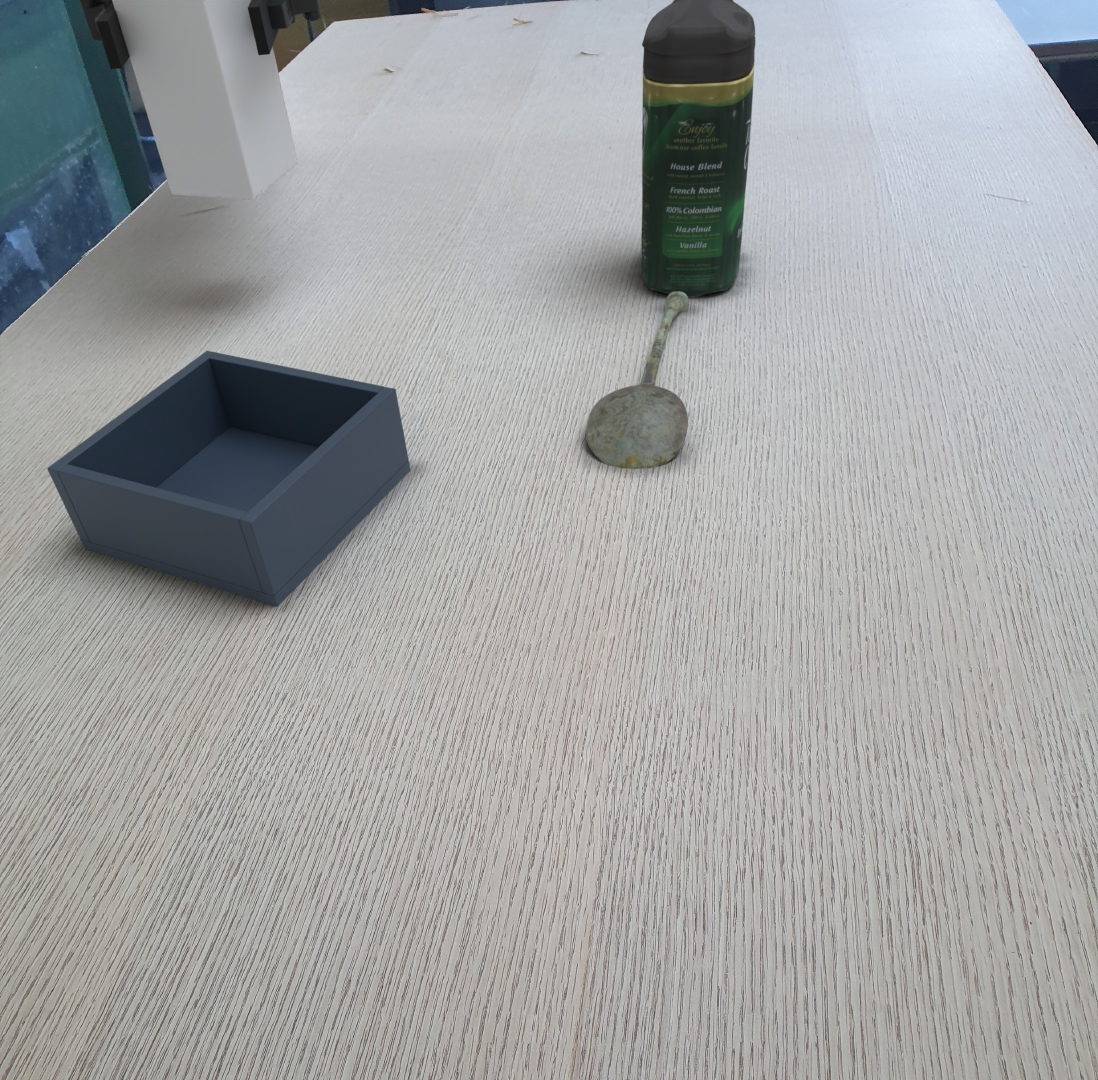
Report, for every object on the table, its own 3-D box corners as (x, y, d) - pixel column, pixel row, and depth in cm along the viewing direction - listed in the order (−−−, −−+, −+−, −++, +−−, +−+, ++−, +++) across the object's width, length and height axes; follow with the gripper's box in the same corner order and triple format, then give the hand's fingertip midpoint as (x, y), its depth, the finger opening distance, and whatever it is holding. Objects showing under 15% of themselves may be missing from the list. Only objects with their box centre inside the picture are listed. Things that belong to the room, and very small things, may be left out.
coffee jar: (739, 302, 82) (759, 21, 69) (637, 302, 84) (636, 25, 70) (741, 249, 89) (759, -18, 75) (646, 249, 90) (647, -13, 77)
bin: (86, 552, 66) (46, 468, 61) (232, 431, 74) (206, 350, 70) (278, 610, 60) (250, 522, 56) (411, 473, 69) (396, 388, 65)
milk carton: (254, 202, 78) (170, -129, 64) (171, 196, 80) (72, -126, 66) (299, 166, 82) (230, -150, 69) (220, 161, 84) (136, -147, 70)
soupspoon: (575, 476, 69) (676, 489, 68) (575, 431, 66) (680, 443, 65) (636, 307, 83) (721, 315, 81) (638, 264, 80) (726, 272, 79)
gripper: (373, 2, 89) (360, 86, 73) (109, 27, 88) (41, 116, 73) (355, -112, 83) (337, -47, 68) (74, -85, 83) (-7, -15, 68)
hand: (184, 38), depth 70 cm, fingers closed on milk carton, 9 cm apart
